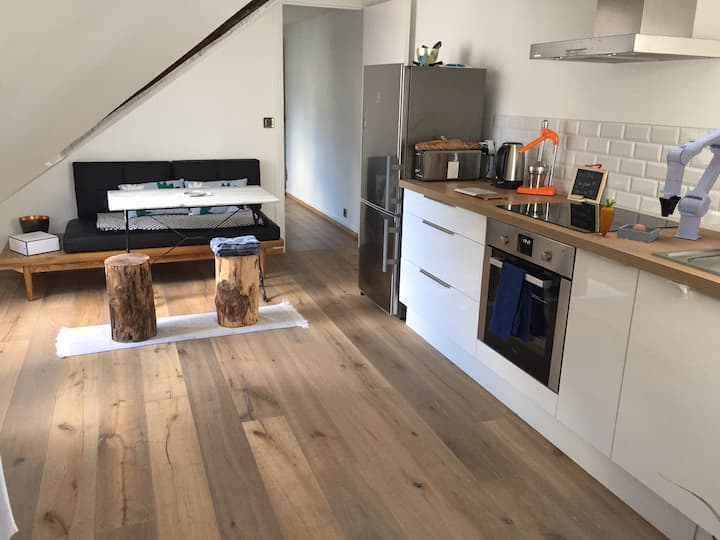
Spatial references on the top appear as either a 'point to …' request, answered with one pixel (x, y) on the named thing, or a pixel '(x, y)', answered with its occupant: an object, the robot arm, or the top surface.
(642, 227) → the ball
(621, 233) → the grey tray
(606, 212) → the carrot
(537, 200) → the top surface
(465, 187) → the top surface
